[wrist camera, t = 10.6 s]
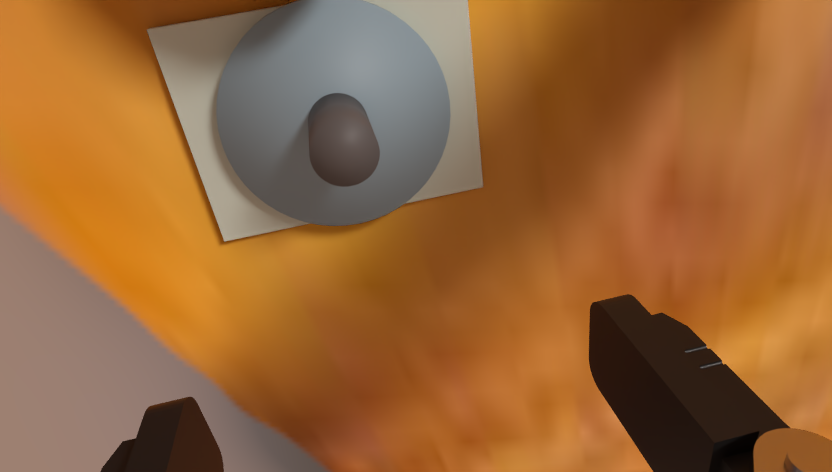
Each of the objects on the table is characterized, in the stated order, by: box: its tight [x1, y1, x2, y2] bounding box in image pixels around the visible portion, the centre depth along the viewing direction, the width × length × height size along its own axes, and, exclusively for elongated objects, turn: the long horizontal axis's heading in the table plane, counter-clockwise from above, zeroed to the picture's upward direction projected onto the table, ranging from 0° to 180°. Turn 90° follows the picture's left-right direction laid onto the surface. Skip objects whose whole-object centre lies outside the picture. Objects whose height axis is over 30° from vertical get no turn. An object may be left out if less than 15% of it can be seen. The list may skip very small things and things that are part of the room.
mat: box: [147, 0, 483, 242], centre depth 30 cm, size 16×12×1 cm
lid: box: [216, 0, 451, 226], centre depth 27 cm, size 12×12×6 cm
